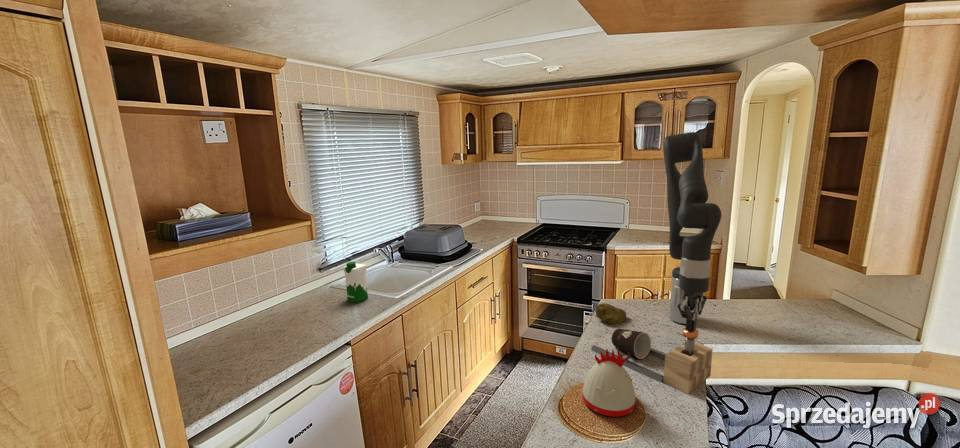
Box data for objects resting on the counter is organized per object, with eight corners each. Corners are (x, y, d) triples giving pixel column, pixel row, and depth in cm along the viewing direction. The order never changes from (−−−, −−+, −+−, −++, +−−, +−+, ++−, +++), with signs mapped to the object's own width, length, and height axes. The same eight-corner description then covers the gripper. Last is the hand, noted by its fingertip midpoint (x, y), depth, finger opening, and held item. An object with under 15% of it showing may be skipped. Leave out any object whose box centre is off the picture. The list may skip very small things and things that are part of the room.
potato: (630, 326, 153) (631, 307, 151) (597, 327, 153) (597, 307, 152) (624, 318, 161) (624, 299, 159) (592, 318, 161) (592, 299, 160)
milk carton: (344, 304, 185) (340, 263, 181) (359, 297, 193) (355, 258, 189) (357, 307, 180) (353, 265, 177) (372, 300, 188) (368, 260, 184)
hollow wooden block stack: (686, 366, 124) (688, 340, 122) (710, 376, 118) (712, 348, 117) (663, 382, 116) (665, 354, 114) (687, 394, 110) (689, 364, 108)
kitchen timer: (635, 421, 100) (637, 367, 97) (579, 409, 105) (580, 358, 102) (635, 390, 113) (637, 341, 110) (585, 381, 118) (586, 334, 115)
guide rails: (616, 337, 144) (616, 333, 144) (685, 365, 124) (685, 361, 124) (591, 350, 135) (591, 346, 135) (661, 382, 116) (661, 377, 116)
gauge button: (684, 356, 119) (687, 326, 117) (698, 361, 115) (701, 330, 114) (678, 360, 116) (680, 330, 115) (692, 366, 113) (694, 334, 111)
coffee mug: (624, 322, 139) (649, 329, 131) (627, 345, 140) (652, 354, 131) (602, 332, 133) (626, 340, 125) (604, 356, 134) (629, 365, 126)
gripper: (692, 265, 118) (688, 320, 121) (669, 275, 110) (666, 332, 113) (719, 271, 112) (714, 328, 115) (697, 281, 104) (692, 342, 107)
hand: (690, 330), depth 114 cm, fingers closed
